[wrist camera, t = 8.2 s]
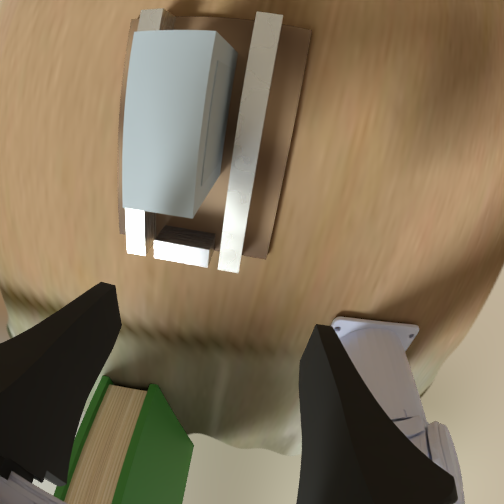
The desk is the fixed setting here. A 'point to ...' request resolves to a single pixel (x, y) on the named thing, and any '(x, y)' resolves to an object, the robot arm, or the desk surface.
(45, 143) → the desk surface
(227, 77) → the pale blue rectangular block
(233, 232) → the track rails
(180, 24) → the track floor
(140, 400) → the hardback book
